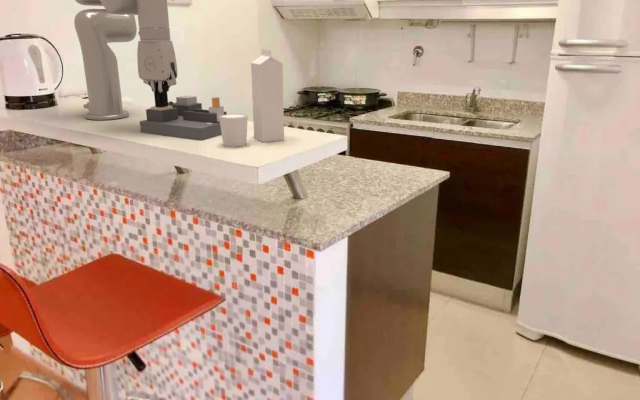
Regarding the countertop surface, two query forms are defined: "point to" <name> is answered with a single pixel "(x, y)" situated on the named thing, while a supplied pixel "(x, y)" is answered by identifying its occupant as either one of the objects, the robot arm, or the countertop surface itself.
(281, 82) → the milk
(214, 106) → the toggle slider
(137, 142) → the countertop surface
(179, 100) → the grey button
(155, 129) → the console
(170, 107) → the cream button
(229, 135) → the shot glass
